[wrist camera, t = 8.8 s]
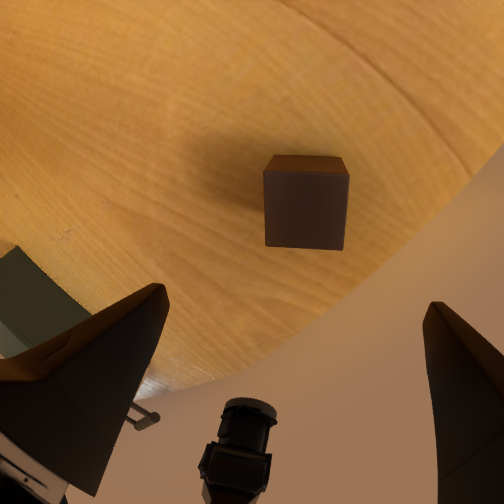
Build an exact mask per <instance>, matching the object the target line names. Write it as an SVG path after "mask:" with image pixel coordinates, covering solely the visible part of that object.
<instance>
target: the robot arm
mask: <svg viewBox="0 0 504 504" xmlns="http://www.w3.org/2000/svg"><path fill="white" fill-rule="evenodd" d="M169 308H170V303H169V299H168V295H167V291H166V287H165V285H164V284H161V283H151V284H149V285H147V286H146V287H144V288H142V289H140V290H138V291H136V292H135V293H133V294H131V295H129V296H127V297H125V298H124V299H122V300H120V301H118V302H116V303H114V304H113V305H111V306H109V307H107V308H105V309H103V310H102V311H100V312H98V313H96V314H94V315H93V316H91V317H89V318H87V319H85V320H84V321H82V322H80V323H78V324H77V325H75V326H73V328H69V329H68V330H66V331H64V332H62V333H60V334H59V335H57V336H55V337H53V338H51V339H49V340H47V341H45V342H43V343H41V344H39V345H37V346H35V347H32V348H30V349H28V350H26V351H24V352H22V353H20V354H18V355H16V356H13V357H11V358H6V359H0V504H68V502H67V499H66V496H65V491H66V489H67V487H68V485H69V483H70V484H72V485H73V486H75V487H76V488H78V489H80V490H82V491H84V492H85V493H87V494H89V495H91V496H93V497H95V495H96V493H97V490H98V488H99V485H100V482H101V480H102V477H103V474H104V471H105V469H106V466H107V464H108V461H109V459H110V456H111V454H112V451H113V447H114V445H115V443H116V440H117V438H118V435H119V433H120V430H121V428H122V426H123V423H124V421H125V418H126V416H127V414H128V411H129V409H130V406H131V404H132V402H133V399H134V397H135V395H136V392H137V390H138V388H139V385H140V383H141V381H142V379H143V376H144V374H145V372H146V370H147V367H148V365H149V363H150V361H151V358H152V356H153V354H154V352H155V349H156V347H157V344H158V342H159V339H160V336H161V333H162V330H163V327H164V323H165V321H166V318H167V315H168V312H169ZM423 337H424V346H425V357H426V368H427V374H428V380H429V386H430V393H431V399H432V407H433V415H434V424H435V435H436V448H437V466H438V504H504V356H503V355H502V354H501V353H500V352H499V351H498V350H497V349H496V348H495V347H494V346H493V345H492V344H491V343H489V342H488V341H487V340H486V339H485V338H484V337H483V336H482V335H481V334H479V333H478V332H477V331H476V330H475V329H474V328H473V327H471V326H470V325H469V324H468V323H467V322H466V321H465V320H464V319H462V318H461V317H460V316H459V315H458V314H456V313H455V312H454V311H453V310H452V309H451V308H449V307H448V306H447V305H446V304H445V303H443V302H431V303H430V305H429V307H428V310H427V312H426V315H425V318H424V320H423ZM221 419H222V421H221V424H220V427H219V430H218V434H217V436H218V437H219V441H218V443H216V442H214V441H212V442H211V444H207V446H206V449H205V452H204V454H203V457H202V459H201V461H200V463H199V466H198V469H199V470H200V474H201V476H200V479H203V480H204V483H203V489H202V496H203V498H204V501H205V503H206V504H256V502H257V500H258V498H259V495H260V493H261V492H265V490H266V487H267V484H268V480H269V474H270V467H271V459H272V454H270V453H269V454H266V453H265V452H266V447H267V442H268V436H269V432H270V427H272V426H274V425H277V423H278V421H277V420H275V419H273V418H271V417H269V416H267V415H265V414H263V413H261V412H259V411H257V410H255V409H253V408H251V407H249V406H247V405H242V406H239V407H237V408H235V409H233V410H231V411H229V412H226V413H224V414H222V415H221Z"/></svg>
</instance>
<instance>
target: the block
mask: <svg viewBox="0 0 504 504" xmlns="http://www.w3.org/2000/svg"><path fill="white" fill-rule="evenodd" d="M349 177H350V176H349V173H348V171H347V169H346V167H345V165H344V162H343V160H342V158H340V157H325V156H302V155H274V156H273V157H272V159H271V160H270V162H269V164H268V165H267V167H266V168H265V170H264V172H263V179H264V211H265V245H266V246H268V247H286V248H304V249H322V250H339V251H342V250H343V245H344V236H345V226H346V216H347V205H348V192H349Z"/></svg>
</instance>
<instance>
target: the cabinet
mask: <svg viewBox="0 0 504 504" xmlns="http://www.w3.org/2000/svg"><path fill="white" fill-rule="evenodd" d="M91 316H93V315H91V314H90V313H89V312H88V311H87V310H85V309H84V308H83V307H82V306H81V305H79V304H78V303H77V302H76V301H75V300H74V299H72V298H71V297H70V296H69V295H68V294H67V293H66V292H64V291H63V290H62V289H61V288H60V287H59V286H58V285H57V284H56V283H54V282H53V281H52V280H51V279H50V278H49V277H48V276H47V275H46V274H45V273H44V272H43V271H42V270H41V269H40V268H39V267H38V266H37V265H36V264H35V263H34V262H33V261H32V260H31V259H30V258H29V257H28V256H27V255H26V254H25V253H24V252H23V251H22V250H21V249H20V248H19V247H18V246H16V247H15V248H13V249H12V250H11V251H10V252H8V253H7V254H6V255H5V256H3V257H2V258H1V259H0V353H1V355H2V356H3V357H4V358H5V359H6V358H11V357H13V356H16V355H18V354H20V353H22V352H24V351H26V350H28V349H30V348H32V347H35V346H37V345H39V344H41V343H43V342H45V341H47V340H49V339H51V338H53V337H55V336H57V335H59V334H60V333H62V332H64V331H66V330H68V329H69V328H73V326H75V325H77V324H78V323H80V322H82V321H84V320H85V319H87V318H89V317H91Z"/></svg>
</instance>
